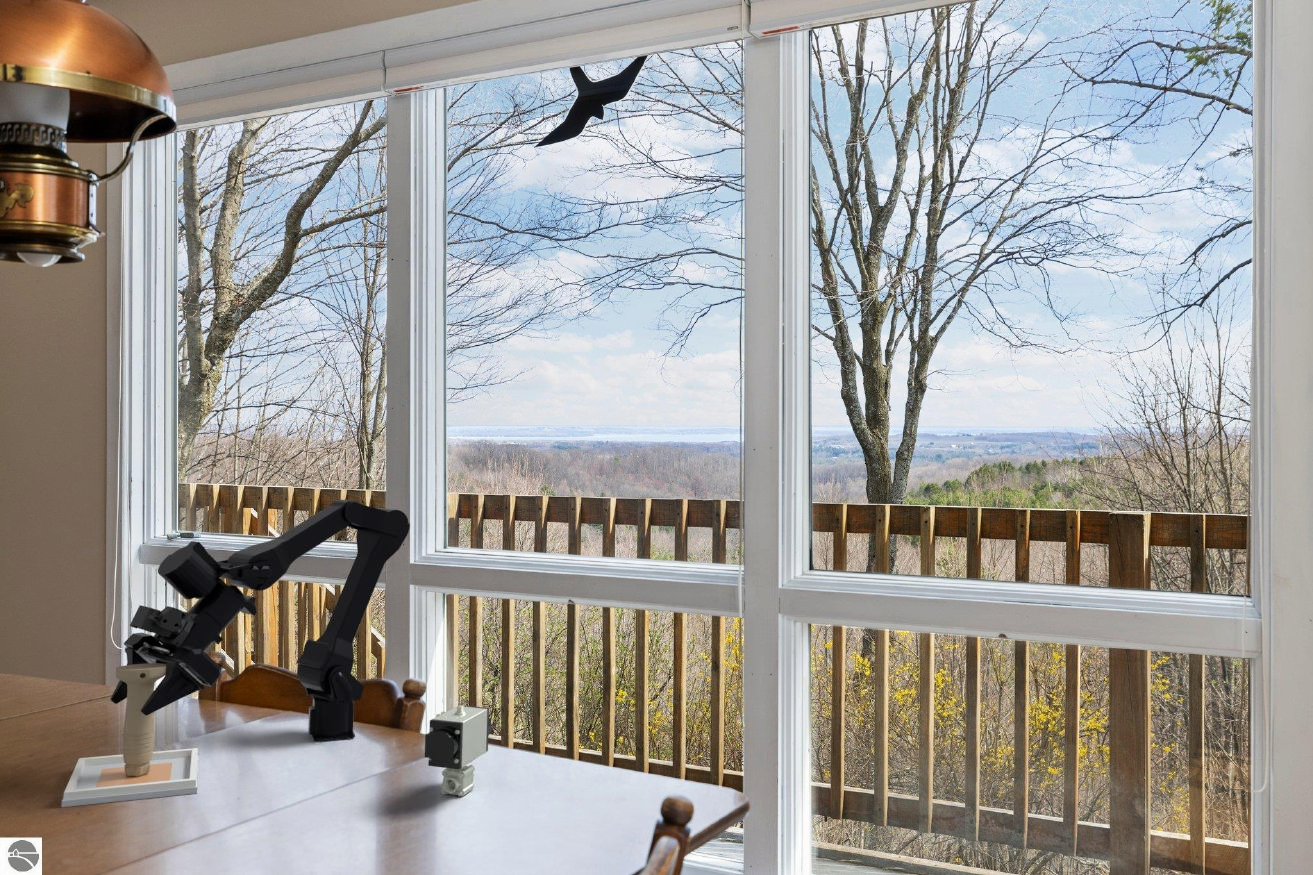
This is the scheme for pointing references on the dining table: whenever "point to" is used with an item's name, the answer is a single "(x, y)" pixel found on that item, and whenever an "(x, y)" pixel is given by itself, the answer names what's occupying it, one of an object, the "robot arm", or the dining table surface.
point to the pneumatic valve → (457, 745)
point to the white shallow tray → (132, 778)
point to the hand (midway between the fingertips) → (127, 707)
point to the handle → (139, 715)
